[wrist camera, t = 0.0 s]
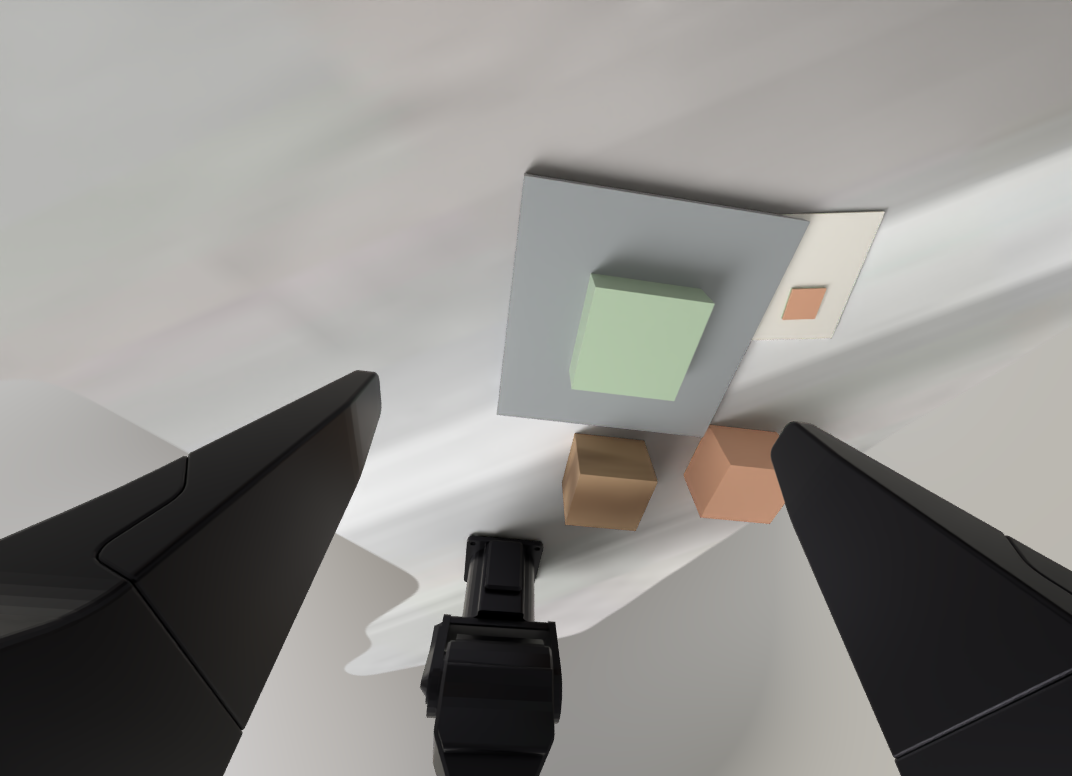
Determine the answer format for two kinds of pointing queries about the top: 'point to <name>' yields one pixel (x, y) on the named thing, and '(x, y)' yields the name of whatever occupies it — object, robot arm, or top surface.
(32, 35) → the top surface
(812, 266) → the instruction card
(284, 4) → the top surface
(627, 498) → the brown block
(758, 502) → the brick terracotta
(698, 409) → the plate
